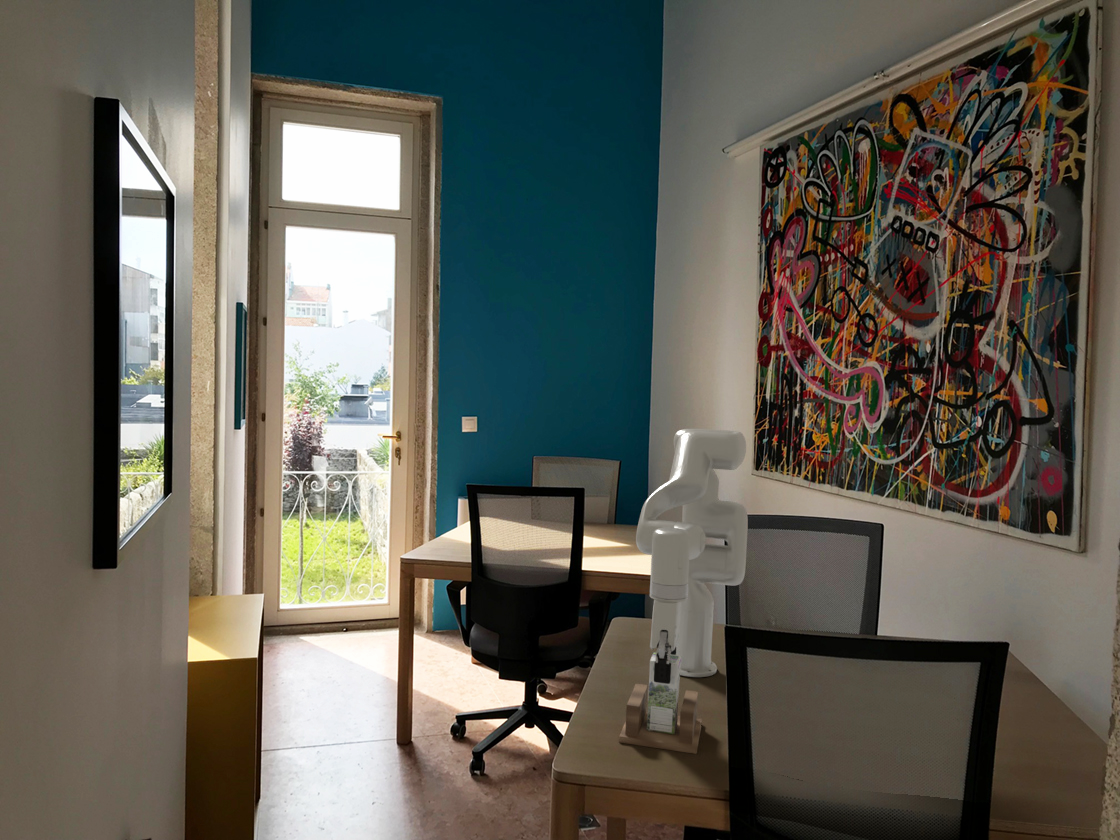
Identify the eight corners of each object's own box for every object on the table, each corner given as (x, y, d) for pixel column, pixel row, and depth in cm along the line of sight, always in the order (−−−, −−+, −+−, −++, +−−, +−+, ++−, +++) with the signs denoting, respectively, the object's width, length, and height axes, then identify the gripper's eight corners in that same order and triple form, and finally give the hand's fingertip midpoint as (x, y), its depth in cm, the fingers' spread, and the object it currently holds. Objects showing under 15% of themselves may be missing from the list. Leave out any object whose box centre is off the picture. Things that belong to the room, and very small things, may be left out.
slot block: (630, 714, 172) (631, 681, 172) (701, 724, 168) (703, 690, 168) (619, 742, 158) (620, 706, 158) (696, 753, 155) (698, 716, 155)
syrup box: (677, 723, 165) (681, 654, 165) (674, 735, 160) (678, 663, 159) (650, 719, 167) (653, 650, 166) (645, 731, 161) (649, 659, 160)
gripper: (655, 578, 171) (652, 657, 173) (644, 599, 155) (640, 687, 156) (691, 581, 170) (687, 661, 171) (683, 603, 153) (679, 692, 154)
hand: (664, 673), depth 163 cm, fingers open, 9 cm apart
